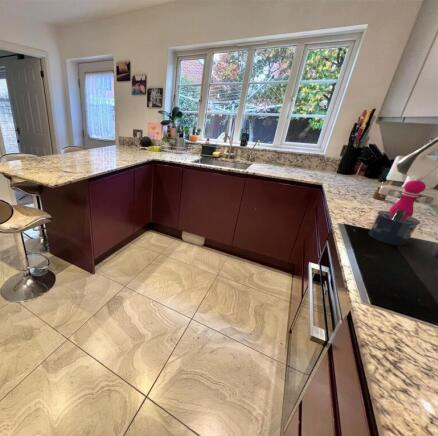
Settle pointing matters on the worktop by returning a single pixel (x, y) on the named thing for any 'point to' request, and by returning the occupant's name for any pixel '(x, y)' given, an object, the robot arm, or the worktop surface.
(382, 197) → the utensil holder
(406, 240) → the pot
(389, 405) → the worktop surface
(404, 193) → the pepper mill
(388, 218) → the pot lid
